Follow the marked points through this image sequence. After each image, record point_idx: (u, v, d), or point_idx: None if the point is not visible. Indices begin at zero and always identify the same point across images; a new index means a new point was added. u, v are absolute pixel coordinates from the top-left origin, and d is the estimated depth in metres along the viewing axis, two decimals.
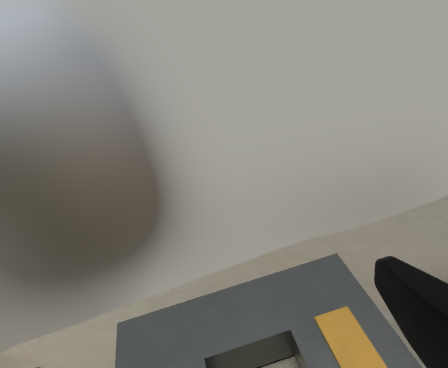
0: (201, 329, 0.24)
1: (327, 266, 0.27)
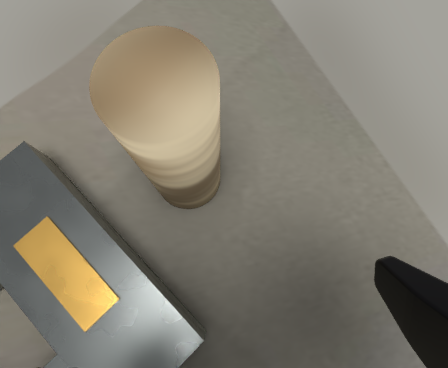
0: None
1: (16, 165, 0.21)
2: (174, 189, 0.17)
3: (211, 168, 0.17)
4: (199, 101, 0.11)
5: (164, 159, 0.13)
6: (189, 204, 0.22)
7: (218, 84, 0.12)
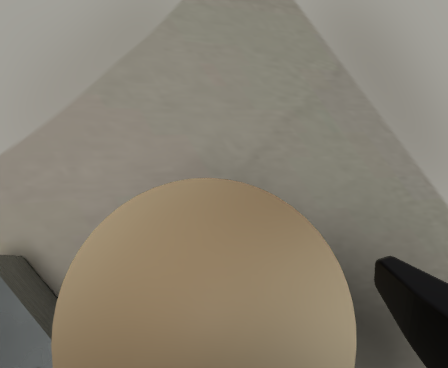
0: None
1: None
2: None
3: None
4: None
5: None
6: None
7: (354, 333, 0.05)
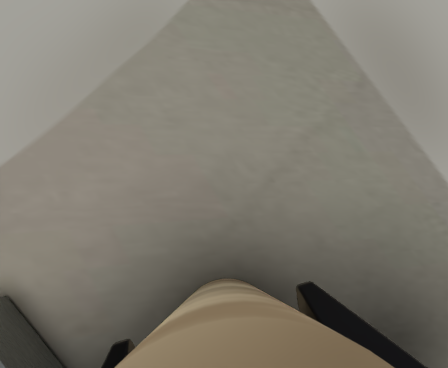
0: None
1: None
2: None
3: None
4: None
5: None
6: None
7: None
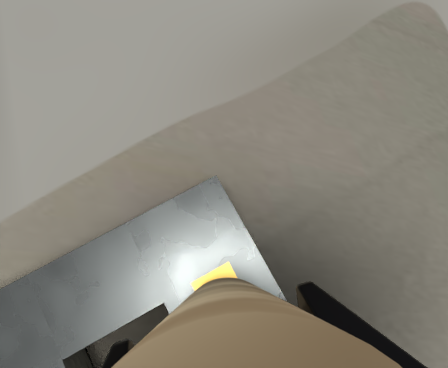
0: (49, 320, 0.18)
1: (204, 198, 0.20)
2: None
3: None
4: None
5: None
6: None
7: None
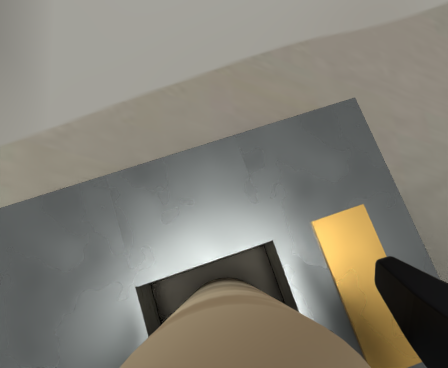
0: (126, 235, 0.14)
1: (337, 122, 0.16)
2: None
3: None
4: None
5: None
6: None
7: None
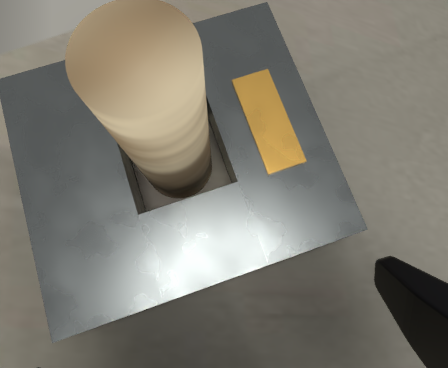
0: None
1: (254, 18, 0.22)
2: (161, 174, 0.17)
3: (199, 152, 0.16)
4: (181, 74, 0.11)
5: (147, 139, 0.12)
6: (179, 192, 0.21)
7: (201, 57, 0.11)
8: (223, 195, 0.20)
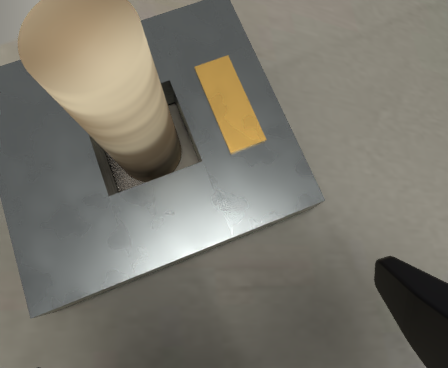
0: None
1: (214, 8, 0.24)
2: (126, 155, 0.18)
3: (159, 132, 0.18)
4: (123, 52, 0.12)
5: (99, 115, 0.13)
6: (149, 175, 0.22)
7: (140, 36, 0.12)
8: (189, 174, 0.21)
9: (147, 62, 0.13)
